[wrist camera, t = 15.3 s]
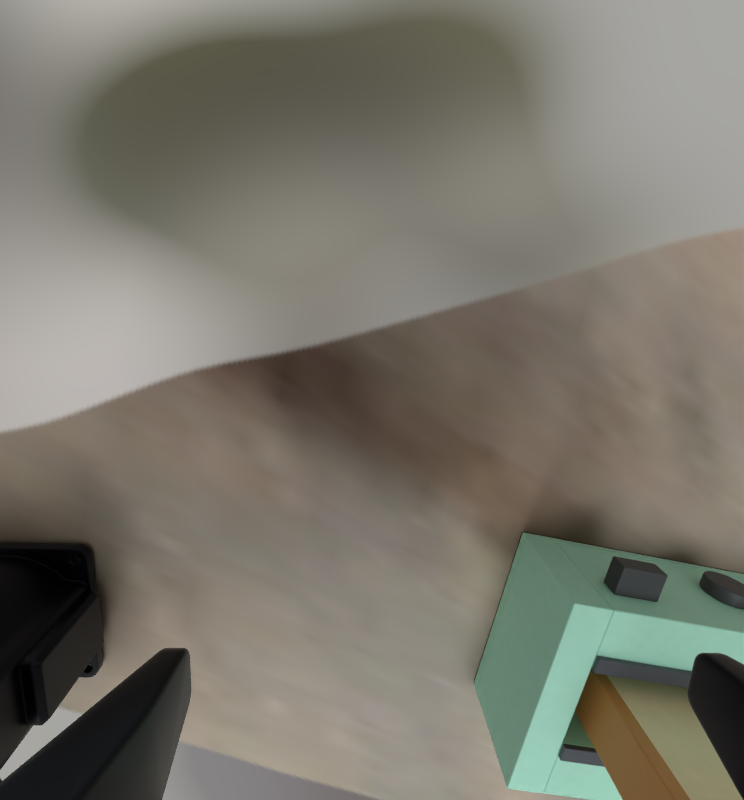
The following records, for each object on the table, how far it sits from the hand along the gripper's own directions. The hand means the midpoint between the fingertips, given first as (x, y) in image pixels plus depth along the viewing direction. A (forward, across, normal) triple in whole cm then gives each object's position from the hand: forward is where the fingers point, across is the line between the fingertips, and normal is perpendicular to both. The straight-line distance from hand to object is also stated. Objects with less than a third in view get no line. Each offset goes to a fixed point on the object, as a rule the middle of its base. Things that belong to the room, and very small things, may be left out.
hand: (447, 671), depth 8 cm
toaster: (+12, -12, +9) cm, 19 cm away
